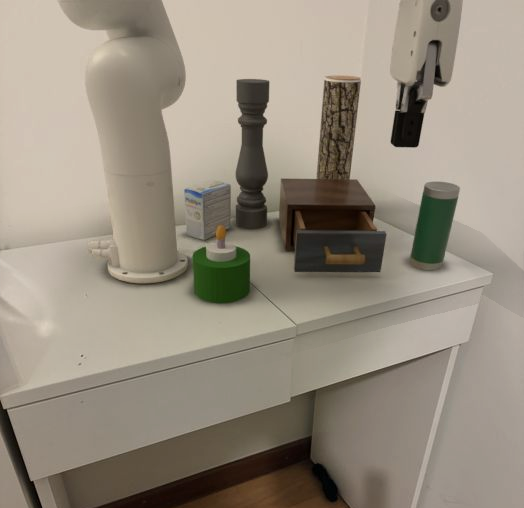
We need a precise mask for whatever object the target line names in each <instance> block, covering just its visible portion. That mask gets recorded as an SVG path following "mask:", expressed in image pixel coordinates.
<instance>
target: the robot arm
mask: <svg viewBox="0 0 524 508" xmlns="http://www.w3.org/2000/svg"><path fill="white" fill-rule="evenodd" d="M463 1H464V0H400V1H399V5H398V12H397V18H396V23H395V29H394V35H393V42H392V48H391V55H390V67H389V74H390V76H391V78H392V79H393V80H395V81H396V88H397V92H396V99H395V111H394V116H393V121H392V129H391V136H390V144H391V145H392V146H393V147H395V148H414V149H415V148H417V147H419V144H420V139H421V136H422V135H421V134H422V129H423V124H424V118H425V113H426V111H427V106H428V102H429V101H430V100H431V99H432V98H433V94H434V86H437V87H440V88H444V87H447V86H448V85H449V84H450V82H451V81H452V76H453V72H454V65H455V60H456V54H457V46H458V42H459V36H460V35H459V34H460V27H461V19H462V11H463ZM57 2H58V4H59V6H60V9H61V10H62V13H64V15H65V16H66V17H67V18H68V20H69V21H70V22H71V23H73V24H74V25H75V26H78V27H80V28H81V29H84V30H89V31H105V33H106V35H107V37H108V40H106V41H104V42H102V43H101V44H99V45H97V47H96V48H95V49H94V50H93V51H92V53H91V54H90V56H89V58H88V60H87V62H86V66H85V72H84V85H85V92H86V96H87V100H88V103H89V105H90V107H89V108H90V109H91V113H92V116H93V119H94V123H95V127H96V131H97V136H98V141H99V146H100V152H101V158H102V167H103V172H104V178H105V179H104V180H105V186H106V192H107V193H106V194H107V199H108V206H109V214H110V220H111V221H110V222H111V228H112V234H113V235H112V237H113V238H109V239H108V240H107V241H101V240H88V241H87V251H88V253H89V254H91V256H92V258H93V259H103V258H107V259H108V260H107V264H106V265H107V272H108V273H109V275H110V276H111V277H113V278H115V279H116V280H119V281H122V282H126V283H131V284H155V283H161V282H166V281H169V280H172V279H175V278H177V277H179V276H181V275H182V274H184V273H185V272H186V270H187V269H188V267H189V261H188V257H187V255H186V254H185V253H184V252H182V251H181V250H179V249H178V244H177V243H178V242H177V230H176V216H175V215H176V213H175V201H174V200H175V199H174V187H173V186H174V185H173V173H172V171H173V169H172V159H171V158H172V157H171V150H170V149H171V148H170V142H169V141H170V140H169V136H168V132H167V128H166V124H165V120H164V116H163V110H165V109H167V108H169V107H171V106H172V105H174V104H175V103H176V102H177V101H178V100H180V97H181V96H182V95H183V92H184V89H185V86H186V81H187V75H186V74H187V73H186V65H185V62H184V57H183V54H182V52H181V49H180V47H179V43H178V40H177V38H176V35H175V32H174V29H173V26H172V25H171V21H170V19H169V16H168V13H167V11H166V8H165V6H164V5H165V4H164V3H163V0H57Z"/></svg>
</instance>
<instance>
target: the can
mask: <svg viewBox="0 0 524 508" xmlns="http://www.w3.org/2000/svg"><path fill="white" fill-rule="evenodd" d="M460 191H461V187H460V186H459V185H457V184H454V183H451V182H446V181H428V182H425V183H424V185H423V191H422V195H421V200H420V204H419V211H418V216H417V220H416V225H415V231H414V236H413V241H412V247H411V250H410V251H411V252H410V257H409V264H410V265H411V266H412V267H414V268H416V269H418V270H423V271H438V270H440V269H442V268H443V263H444V260H445V255H446V252H447V248H448V243H449V239H450V236H451V235H450V234H451V230H452V226H453V222H454V217H455V213H456V209H457V205H458V200H459V195H460Z"/></svg>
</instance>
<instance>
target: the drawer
mask: <svg viewBox="0 0 524 508" xmlns="http://www.w3.org/2000/svg"><path fill="white" fill-rule="evenodd" d="M387 236H388V235H387V232H386V230H378V228H377V227H376V225H375V224H374V221H373V222H372V220H371V219H370V217H369V216H368V214H367V213H366V211H365V210H300V209H293V219H292V240H293V244H294V248H295V251H294V262H293V272H295V273H381V271H382V266H383V265H382V264H383V259H384V252H385V246H386V240H387Z"/></svg>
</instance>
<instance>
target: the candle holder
mask: <svg viewBox="0 0 524 508" xmlns="http://www.w3.org/2000/svg"><path fill="white" fill-rule="evenodd" d="M269 102H270V80H268V79H261V78H260V79H259V78H241V79H240V78H239V79H236V103H237V107H238V109H239V112H240V114H241V115H240V116H239V117H238V118H237V124H239V125H240V128H241V145H240V150H239V154H238V155H239V156H238V159H237V164H236V169H235V180H236V182H237V184H238V185H239V186H240V187H239V190H240V191H241V192H239V194H238V196H237V197H236V202H237V204H236V205H235V225H236V226H237V227H238V228H240V229H241V228H242V229H247V230H257V229H263V228H265V227H266V226H267V225H268V205H266V202H267V197H266V196H265V195H264V193H263V191H264V186H265V185H266V183H267V181H268V179H269V172H268V166H267V162H266V155H265V150H264V146H263V145H264V128H265V126H266V125H267V124H268V119H267V118H266V117H265V116H264V114H265V113H266V110H267V108H268V103H269Z"/></svg>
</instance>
